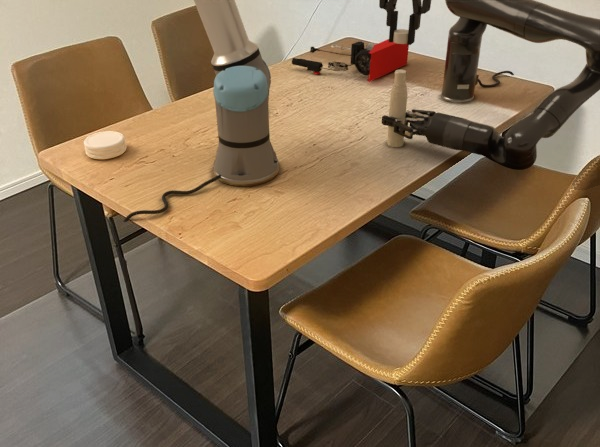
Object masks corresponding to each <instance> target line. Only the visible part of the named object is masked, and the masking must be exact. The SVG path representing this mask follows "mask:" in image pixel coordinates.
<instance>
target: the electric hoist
mask: <svg viewBox="0 0 600 447" xmlns="http://www.w3.org/2000/svg"><path fill="white" fill-rule="evenodd" d="M409 46H410V45H407V44H397V43H394V42H389V38H388V39H385V40H383V41H381V42H378V43H377V42H368V44H366V45H365V42H363V41H356V42H353V43H351V47H349V46H344V45H341V46H339V45H338V44H333V45H330V47H331V48H333V49H340V50H341V51H343V50H347V51H350V54H347V56H348V57H350V64H347V63H345V62H340V61H334V62H332V61H329V62H327V65H328V66H327V67H324V65H323V63H322V62H321V61H315V60H310V59H305V58H297V57H296V58H295V57H292V59H291V64H292V65H293V66H298V67H302V68H303V67H304V68H306V71H310V72H313V74H314V75H320V74H321V71H322V70H328V71H334V72H341V71H342V72H346V71H348V70H349V67H350V66H354V67H355V69H356V70H357V72H358V73H359V74H362V75H364V76H368V78H367V79H366V81H367V82H372V81H374V80H376V79H378V78H381V77H383V76H385V75H387V74H389V73H391V72H394V71H396V70H399V68H400V69H401V68H402V67H404V66H406V65H408V58H409V48H410V47H409ZM316 51H317V52H324V53H325V52H326V53H331V54H336V55H340V56H341V55H342V56H346V54H343V53H338V52H333V51H328V50H322V49H319V48H316V47H315V46H310V48H309V53H312V54H314V53H315V52H316Z"/></svg>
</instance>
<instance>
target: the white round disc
mask: <svg viewBox="0 0 600 447" xmlns="http://www.w3.org/2000/svg"><path fill="white" fill-rule="evenodd" d="M83 146H84V151H85V154H86V156H87V157H88V158H91V159H94V160H109V159H113V158H117V157H120V156H122V155H123V154H124V153H125V152H126V151H127V147H128V146H127V142H126V137H125V135H124V134H122V133H121V132H119V131H115V130H114V131H113V130H106V131H105V130H104V131H99V132H95V133H93V134H90V135H88V136H87V137H85V139H84V140H83Z"/></svg>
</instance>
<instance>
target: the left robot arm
mask: <svg viewBox="0 0 600 447" xmlns="http://www.w3.org/2000/svg"><path fill="white" fill-rule="evenodd" d="M193 2H194V5H195V7H196V10H197V13H198V15H199V17H200V20H201V22H202V25H203V28H204V30H205V32H206V36H207V38H208V40H209V43H210V45H211V48H212V51H213V56H212V58H211V61H210V63H211V67H212V69H213V72H214V74H215V78H214V80H213V89H212V92H213V98H214V103H215V113H216V126H217V135H218V145H217V149H216V153H215V159H214V162H213V167H212V168H213V176H214V177H212V178H211V179H208V180H207V181H204V182H203V183H200V185H198V186H197V187H195V188H192V189H190V190H176V189H175V190H168V191H165V192H164V193H163V194H162V195H161V200H162V202H163V205H164V207H162V208H160V209H153V210H152V209H150V210H148V209H146V210H144V209H143V210H135V211H132V212H131V213H129V214H128V215H127V216H126V217H125V218H124V220H123V223H127V222H128V221H129V220H130V219H131V218H133V217H135V216H137V215H159V214H162V213H164V212H166V211H167V210H168V208H169V202H168V200H167V199H166V197H167V196H169V195H185V196H186V195H191V194H194V193H196V192H199V191H200V190H202V189H203V188H205V187H207V186H208V185H210V184H213V183H214V182H216V181H219V182H220V183H223V184H225V185H228V186H229V185H230V186H234V187H251V186H252V187H253V186H257V185H261V184H265V183H267V182H269V181H271V180H273V179H274V178H275V177H276V176H277V175H278V174H279V171H280V166H279V164H280V163H279V160H278V156H277V153H276V150H275V149H274V146H273V144H272V142H271V138H270V136H271V135H270V134H271V133H270V113H269V100H270V88H271V85H272V84H271V82H272V80H271V78H272V76H271V72H270V68H269V66H268V65H267V63H266V61H265V60H264V59H263V57H262V54H261V51H260V49H259V46H258V44H257V43H255V42H253V41H251V40H249V37H248V34H247V31H246V28H245V25H244V22H243V19H242V17H241V14H240V11H239V9H238V5H237V3H236V0H193ZM397 4H398V0H379V4H378V8H379V9H383V10H384V11H386V24H385V25H386V27H389V30H388V32H389V33H388V34H389V35H388V39H389V42H393V36H394V31H395V30H398V19H399V10H397ZM411 4H412V13H411V14H410V15H409V20H408V29H407V30H408V41H407V45H409V46H411V45H413V44H414V43H415V41H416V40H415V39H416V31H417V30H419V29H420V27H421V18H422V15H423V14H427V13H428V12H429V11H430V10H431V7H432V6H431V4H432V0H411ZM127 263H128V262H127V260H126V259H125V258H124V257H122V268H123V269H122V270H123V276H124V277H123V278H124V282H125V287H126V292H127V296H128V300H129V306H130V310H131V313H132V317H133V323H134V327H135V334H136V336H140V335H141V331H140V326H139V325H140V324H139V321H138V320H139V319H138V315H137V311H136V306H135V303H134V298H133V294H132V290H131V289H132V288H131V284H130V279H129V272H128V264H127Z"/></svg>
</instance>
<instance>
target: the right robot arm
mask: <svg viewBox="0 0 600 447" xmlns="http://www.w3.org/2000/svg"><path fill="white" fill-rule="evenodd" d="M444 1H445V5H446V7H447V9H448V10H449V12H450V13H451V14H452V15H454V16H456V17H458V20H457V21H456V22H455V23H454V24H453V25H452V26H451V27H450V28H449V30H448V37H447V44H446V53H445V63H444V70H443V71H444V72H443V81H442V89H441V94H440V97H441V99H442V100H444V101H446V102H448V103H454V104H466V103H470V102H472V101H474V99H475V91H476V90H475V89H476V86H478V85H479V86H480V87H482V88H494V87H497V86H499V85H500V84H501V81H500V80H499V79H498V78H497V77H498V76H499V75H503V74H509V75H511V76H515V73H514V72H513V71H510V70H502V71H499V72H496V73H494V74H493V75H492V76H491V78H492V80H493V81H494V82H495V83H492V84H484V83H482V81H481V79H480V78H479V76H480V74H478V70H479V69H478V68H479V63H480V54H481V48H482V47H481V46H482V40H483V35H484V33H485V31H486V30H487V26H490V27H492V28H495V29H497V30H499V31H503V32H505V33H508V34H510V35H513V36H514V37H517V38H520V39H522V40H525V41H528V42H530V43H534V44H544V43H549V42H553V41H557V40H563V41H567V42H569V43H570V42H571V43H574V44H576V45H578V46H581V47H582V48H584V49H585V61H586V64H585V65H584V67H583V69H582V70H581V71H580V72H579V74H578V76H577V77H576V78H574V80H572V81H571V82H569V83H567V84H566V85H562V86H560V87H558V88H556V89H554V90H553V91H551V92H550V93H549V94H547V95H546V96H545V97H544V98H543V99H542V100H541V101H540V102H539V104H538V105H537V106H535V108H534V109H533V110H532V112H531V113H530V114H528V115H527V116H525V117H523V118H522V119H521V120H518V122H516V123H515V124H514V125H512V126H511V127H510V128H509V129H508V130H507V132H506V133H505V134H504V136H502V135H500V134H499V132H498V131H497V129H496V128H495V127H494V126H492V125H490V124H484V123H480V122H476V121H473V120H470V119H467V118H464V117H460V116H455V115H451V114H447V113H444V112H443V113H442V112H436V111H434V110H424V109H416V108H413V109H411V111H410V110H406V119H398V118H394V117H390V116H389V115H385V114H384V115H382V116H381V124H382V125H384V126H387V127H388V126H391V127H394V131H393V132H395V133H397V134H399V135H401V136H403V137H404V139H405V138H406V139H407V140H413V137H414V136H421V137H425V138H426V141H427V142H428V144H432V145H435V146H439V147H444V148H447V149H451V150H455V151H463V152H467V153H471V154H473V155H479V156H482V157H484V158H486V159H488V160H489V161H492V162H494V163H496V164H497V165H500V166H502V167H504V168H507V169H510V170H514V171H523V170H527V169H529V168H531V167H532V166H534V164H535V163H536V160H537V157H538V155H537V154H538V151H537V144H538V143H539V142H540V141H541V139H549V138H551V137H552V136H554V135H555V134H556V133H558V131H559V130H560V129H561V128H562V126H564V125H565V123H567V121H568V120H569V119H570V118H571V117H572V115H574V113H575V112H576V111H577V110H578V109H579V108H580V107H581V106H583V105H584V103H586V102H587V101H589V99H590V98H592V97H593V96H594V95H595V94H596V93H598V92H599V91H600V18H596V17H591V16H585V15H581V14H578V13H574V12H570V11H568V10H564V9H561V8H556V7H554V6H551V5H549V4H547V3H543V2H541V1H537V0H444ZM402 123H404V124H402Z"/></svg>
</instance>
